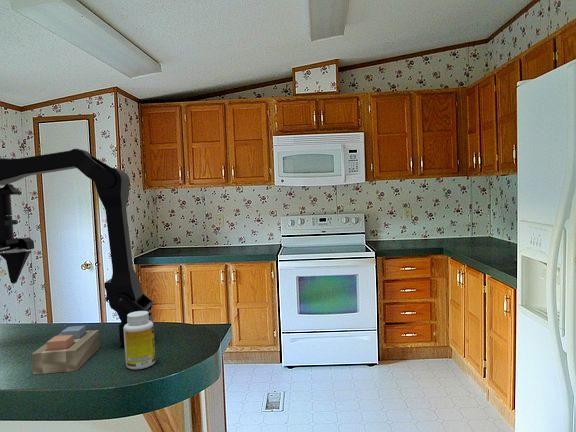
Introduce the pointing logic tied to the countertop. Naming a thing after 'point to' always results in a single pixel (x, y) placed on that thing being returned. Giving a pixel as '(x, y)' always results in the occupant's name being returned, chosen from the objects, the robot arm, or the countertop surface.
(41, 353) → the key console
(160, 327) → the countertop surface
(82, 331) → the light blue square block
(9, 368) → the countertop surface
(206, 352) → the countertop surface
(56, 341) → the key terracotta
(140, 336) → the supplement bottle
